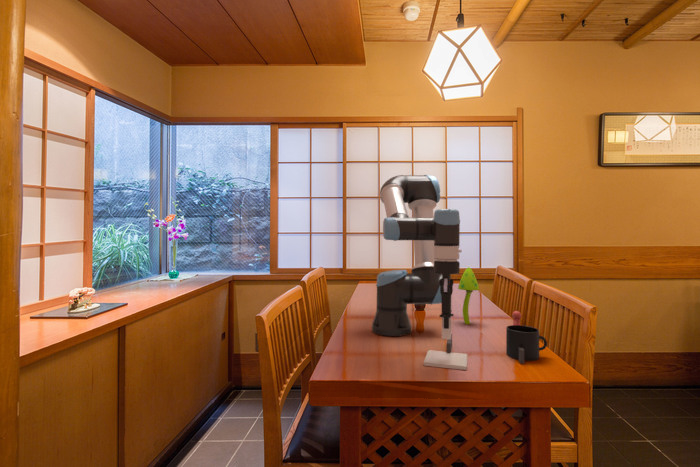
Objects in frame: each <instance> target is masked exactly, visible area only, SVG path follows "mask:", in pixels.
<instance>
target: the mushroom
mask: <svg viewBox="0 0 700 467" xmlns="http://www.w3.org/2000/svg"><path fill="white" fill-rule="evenodd" d="M457 287H458V288H457V289H458V290H462V291H465V296H464V300H463V305H462V318H463V321H464V324H465V325H468V324H469V325H471V322H470V315H469V306H470V304H469V303H470V300H471V295H472V293H473V292H474V291H479V290H480V287H479V283H478V280H477V277H476V276H475V273H474V271H473V270H472V268H470V267H469V266H468V267H467V268H466V269H465V270H464V272H463V273H462V275H461V278H460V281H459V284H458V286H457Z"/></svg>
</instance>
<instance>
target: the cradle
mask: <svg viewBox="0 0 700 467" xmlns="http://www.w3.org/2000/svg"><path fill="white" fill-rule="evenodd" d="M511 316H512V320H513V325H521V318H522V314H521V312H520V311H518V310H514V311H513V312H512V314H511ZM452 347H453V333H451V340H450V339H446V352H447V353H451V352H452ZM517 361H518V362H519V364H524V365H525V361H524V349H523V347H518V360H517Z"/></svg>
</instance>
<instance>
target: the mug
mask: <svg viewBox="0 0 700 467" xmlns="http://www.w3.org/2000/svg"><path fill="white" fill-rule="evenodd" d="M505 336H506V337H505V338H506V346H505V347H506V348H505V352H506V356H507V357H509V358H511V359H514V360H517V361H519V360H518V347H523V349H524V362H535V361H538V360H539V359H540V351H543V350H545V349H546V348H547V346H548V341H547V339H546V338H545V337H544V336H542V335H540V330H539V329H538V328H536V327H534V326H533V327H532V326H529V325H521V324H520V325H508V326H506V335H505ZM540 340H542V341H543V345H542V347H541V346H540Z"/></svg>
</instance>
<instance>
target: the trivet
mask: <svg viewBox="0 0 700 467" xmlns="http://www.w3.org/2000/svg"><path fill="white" fill-rule="evenodd" d="M423 366H424V367H426V366H427V367H435V368H444V369H453V370H461V371H468V353H464V352H463V353H462V352H452V351H451V353H447V351H441V350H431V349H428V350H427V352H426V356H425V358H424V361H423Z"/></svg>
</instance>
